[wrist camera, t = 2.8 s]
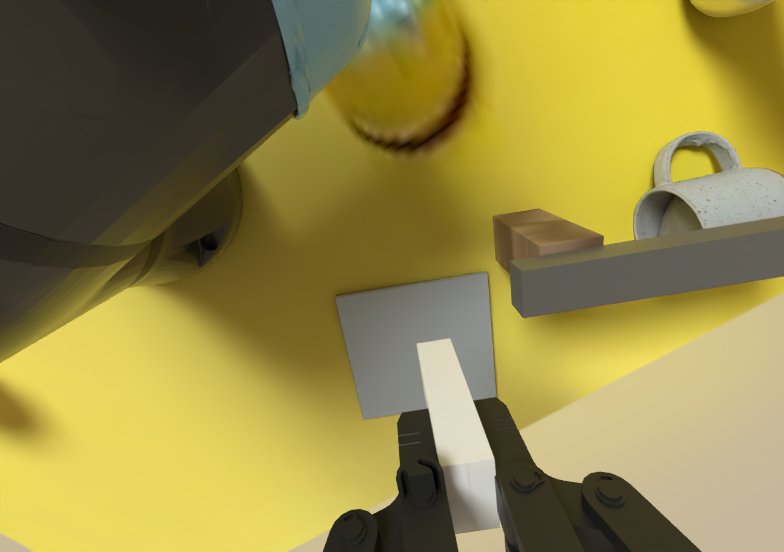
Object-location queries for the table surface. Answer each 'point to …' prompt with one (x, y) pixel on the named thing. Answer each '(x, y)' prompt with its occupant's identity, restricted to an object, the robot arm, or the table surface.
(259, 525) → the table surface
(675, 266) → the dark grey bar
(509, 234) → the stand
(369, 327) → the mat
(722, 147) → the ceramic mug
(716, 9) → the plastic bottle
